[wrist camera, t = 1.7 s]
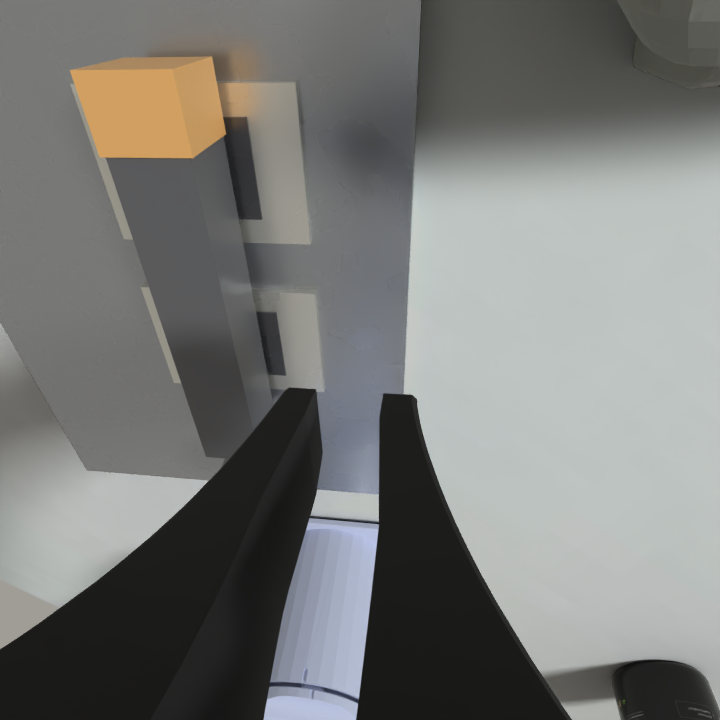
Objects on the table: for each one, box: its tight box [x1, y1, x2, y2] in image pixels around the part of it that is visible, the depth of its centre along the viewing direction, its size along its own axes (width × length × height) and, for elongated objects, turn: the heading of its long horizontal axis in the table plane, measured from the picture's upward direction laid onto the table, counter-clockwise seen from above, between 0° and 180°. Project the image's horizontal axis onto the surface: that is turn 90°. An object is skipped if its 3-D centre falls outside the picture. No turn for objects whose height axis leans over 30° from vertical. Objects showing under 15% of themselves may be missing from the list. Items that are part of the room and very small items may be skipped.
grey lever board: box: [0, 0, 422, 494], centre depth 19 cm, size 22×18×5 cm
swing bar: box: [70, 56, 273, 459], centre depth 17 cm, size 14×3×3 cm, turn 2°
